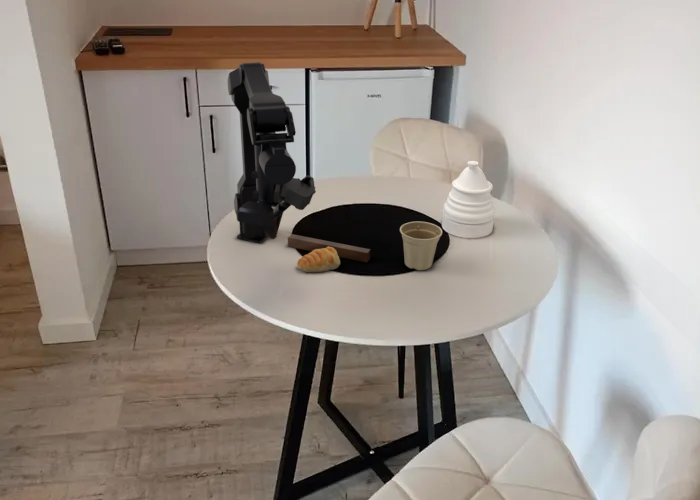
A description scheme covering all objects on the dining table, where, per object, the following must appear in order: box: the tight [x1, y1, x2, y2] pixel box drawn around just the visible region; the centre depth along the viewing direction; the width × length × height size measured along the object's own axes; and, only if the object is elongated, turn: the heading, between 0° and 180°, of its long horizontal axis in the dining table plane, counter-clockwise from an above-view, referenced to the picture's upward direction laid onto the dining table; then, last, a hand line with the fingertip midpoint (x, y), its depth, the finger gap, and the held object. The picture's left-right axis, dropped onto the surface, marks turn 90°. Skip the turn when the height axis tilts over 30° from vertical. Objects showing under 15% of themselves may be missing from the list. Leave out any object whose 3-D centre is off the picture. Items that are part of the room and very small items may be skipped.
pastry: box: [296, 246, 341, 273], centre depth 152 cm, size 9×7×4 cm
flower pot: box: [399, 220, 443, 271], centre depth 153 cm, size 9×9×9 cm
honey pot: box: [441, 160, 496, 239], centre depth 169 cm, size 13×13×18 cm
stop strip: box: [287, 233, 371, 263], centre depth 158 cm, size 20×2×2 cm, turn 69°
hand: (273, 238), depth 138 cm, fingers closed
